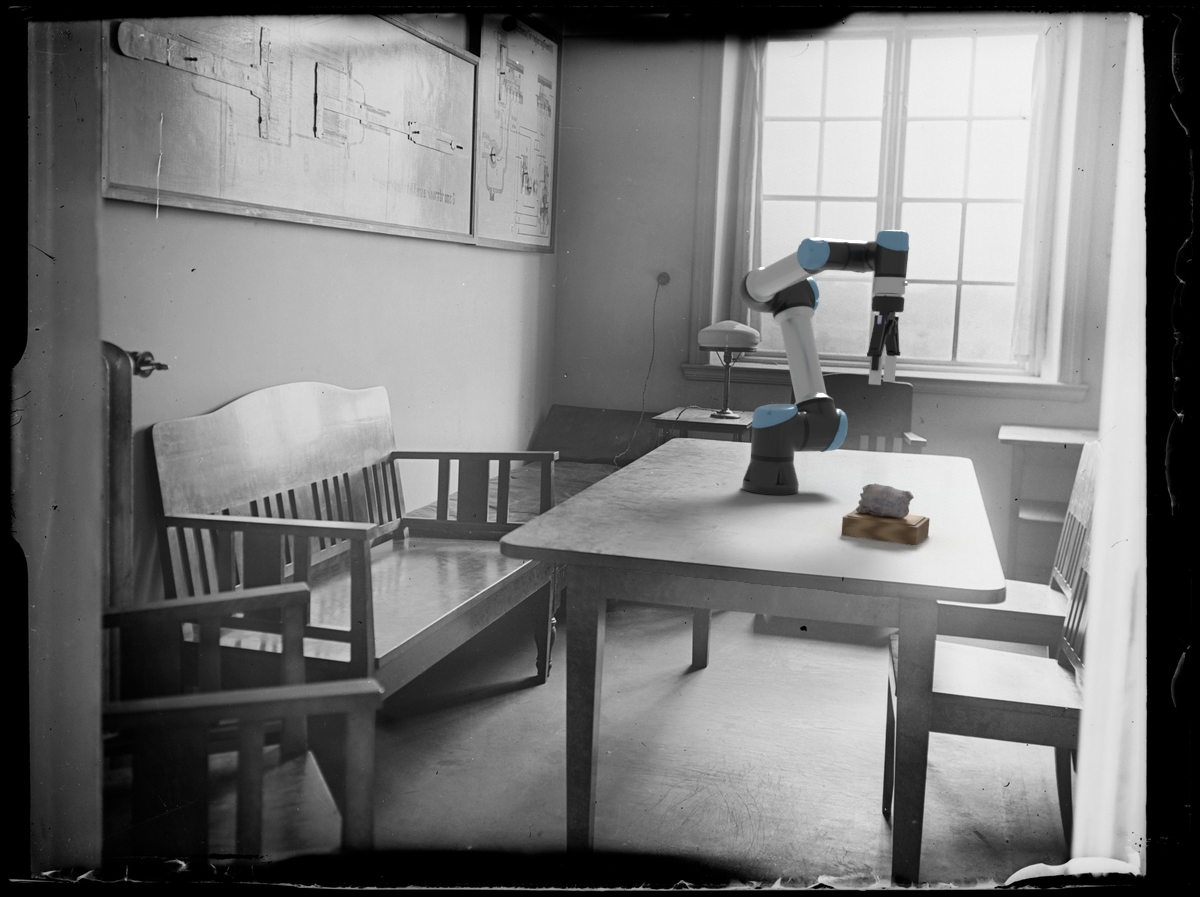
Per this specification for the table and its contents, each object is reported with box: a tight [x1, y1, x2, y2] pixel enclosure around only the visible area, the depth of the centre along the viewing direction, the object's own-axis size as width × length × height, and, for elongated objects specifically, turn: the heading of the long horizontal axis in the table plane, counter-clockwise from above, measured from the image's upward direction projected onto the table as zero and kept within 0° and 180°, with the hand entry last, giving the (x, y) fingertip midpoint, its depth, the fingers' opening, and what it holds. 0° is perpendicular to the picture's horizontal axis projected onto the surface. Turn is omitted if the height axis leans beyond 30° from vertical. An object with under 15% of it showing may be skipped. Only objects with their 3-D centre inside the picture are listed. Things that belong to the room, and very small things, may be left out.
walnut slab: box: [841, 509, 931, 547], centre depth 212 cm, size 16×12×4 cm
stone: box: [854, 483, 915, 518], centre depth 211 cm, size 8×12×7 cm, turn 56°
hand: (881, 383), depth 235 cm, fingers open, 13 cm apart
